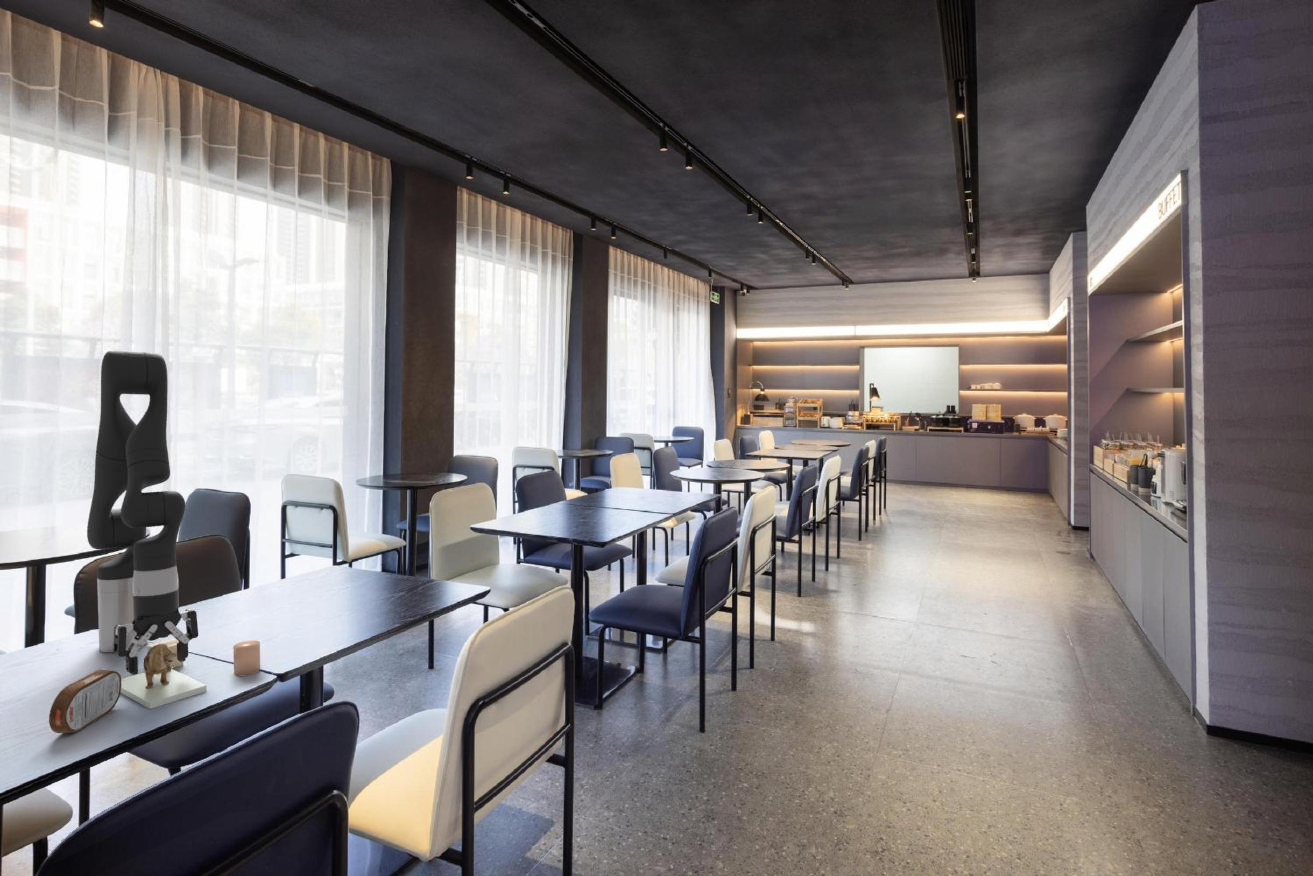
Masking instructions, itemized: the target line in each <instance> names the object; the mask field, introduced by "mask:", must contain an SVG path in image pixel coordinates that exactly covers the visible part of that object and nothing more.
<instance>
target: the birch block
mask: <svg viewBox="0 0 1313 876" xmlns="http://www.w3.org/2000/svg"><path fill="white" fill-rule="evenodd" d="M178 642H179V641H178V640H177V639H175V638H171V639H168V640H163V641H159V642H155V643H151V644H147V646H146V647H147V650H146V651H147V652H146V654H147V653H148V651H149V650H150V649H151V648H152V647H153V646H155V645H158V644H165V645H167V647H168V649H169V650H170V651H171V652H172V653H175V654H177V643H178ZM180 665H181V666H184V661H183V662H180V661H178V660H177V655H176V657H175V658H174V659H173V663H170V667H171V669H173V668H172V667H174V668H177V667H176V666H178V667H180Z"/></svg>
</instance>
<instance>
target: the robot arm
mask: <svg viewBox="0 0 1313 876" xmlns="http://www.w3.org/2000/svg"><path fill="white" fill-rule="evenodd" d="M100 369H101V370H100V415H99V426H98V433H97V434H98V435H97V440H96V450H95V459H94V483H93V484H94V485H93V493H92V498H91V504H90V509H89V514H88V519H87V520H88V521H87V526H86V527H87V529H86V535H87V536H86V538H87V541H88V542H87V543H88V544H89V546H90V547H91V548H92V549H95V550H110V549H119V548H126V549H125V551H124V552H123V553H121V554H119V555H118V556H116V557H114V558H112V559H110V560H108V561H106V562H103V563H101V564H99V565H98V567H97V569H96V579H97V580H96V583H97V612H98V615H97V616H98V647H99V648H98V650H99V651H100V652H101V653H102V652H103V653H113V655H115V656H116V657H117V656H118V657H119V658H123V657H124V658H125V670H126V672H127V673H129V674H130V676H133V675H137V674H139V661H138V660H139V658H138V657H139V656H138V655H137V654H138V653H139V652H140V650H141V649H142V647H145V645H146V644H147V643H148V642H147V641H150V642H151V641H152V642H153V641H156V640H158V639H164V638H169V636H170V635H171V636H172V637H173V639H174V640H176V641H179V642H178V643H177V660H178V661H180V662H183V663H184V662H185V661H186V659H187V658H188V657H189V642H190V641H192V640H194V639H196V638H198V636H199V627H198V614H197V611H196V610H195V609H190V608H186V609H185V610H184V611H181V612H180V610H179V608H180V604H179V603H180V602H179V601H180V600H179V598H180V597H179V586H180V581H179V573H178V568H177V540H178V535H179V532H180V529H181V528H180V527H181V525H182V521H183V520H184V516H185V514H186V513H185V511H186V500H185V498H184V497H183V495H182V494H181V493H180V492H178V491H176V490H162V491H150V492H149V491H148V492H142V491H143V490H144V489H146V488H149V487H152V486H156V485H159V484H163V483H164V482H167V481H168V480H169V478H170V477H171V466H170V459H169V451H168V440H167V424H168V423H167V421H168V389H169V387H168V383H169V381H168V379H169V378H168V368H167V364H166V361H165V359H164V357H163V355H161V354H160V353H156V352H148V351H132V350H109V351H107V352H105V353H104V355H103V357H102V362H101V366H100ZM121 395H145V396H147V395H148V396H149V403H148V406H147V409H146V411H145V412H144V414H143V416H142V417H141V419H140V420H139V421H138V423H136V422H135V421H134V420H133V419H132V418H131V417H130V415H129V414H128V412H127V410H126V409H125V407H124V405H123V403H122V401H121ZM124 493H125V494H124ZM123 494H124V497H123V501H122V504H121V507H120V508H114V509H113V507H114V505H115V504H116V502H117V501H118V499H119V498H120V497H121V496H122V495H123ZM162 526H163V527H162ZM154 527H162V529H161V530H160V531H159V532H158V533H157V534H155V535H152V536H149V537H147V528H154ZM181 620H182V621H184V622H185V629H186V633H185V634H184V632H182V630H180V629H179V627H177V625H178V624H179V623H180V621H181Z"/></svg>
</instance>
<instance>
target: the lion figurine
mask: <svg viewBox="0 0 1313 876" xmlns="http://www.w3.org/2000/svg"><path fill="white" fill-rule="evenodd" d="M176 655H177V654H175V653H172V652H171V651H170V650H169V649H168V647H167V645H165V644H158V645H155V646H153V647H152V648H151V649H150V650H149V651H148V653H147V652H146V655H145V656H144V658H143V663H142V664H143V668H144V669H143V670H144V672H145V675H146V680H147V686H146V687H145V688H146V689H150V688H152V687H153V681H152V678H153V677H154V675H155V674H160V673H161V679H160V682H161V684H162V685H166V684H168V683H169V681H167V679H166V674H167V671H170V670H171V669H172V668H171V667H170V663H173V659H174V658H175V657H176Z"/></svg>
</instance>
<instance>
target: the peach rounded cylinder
mask: <svg viewBox="0 0 1313 876" xmlns="http://www.w3.org/2000/svg"><path fill="white" fill-rule="evenodd" d="M232 649H233V653H232V654H233V675H234V674H235V675H234V676H237V675H245V676H249V674H250V675H254V674H257V673H259V672H260V671H261V643H260V641H259V640H244V641H241V642H238V643H234V644H233V647H232ZM259 670H260V671H259ZM253 673H254V674H253Z"/></svg>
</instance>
